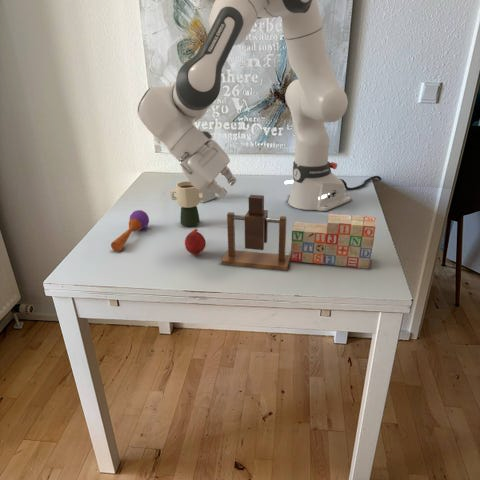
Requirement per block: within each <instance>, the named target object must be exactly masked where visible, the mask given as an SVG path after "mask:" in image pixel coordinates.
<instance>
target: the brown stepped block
mask: <svg viewBox="0 0 480 480" xmlns="http://www.w3.org/2000/svg"><path fill="white" fill-rule="evenodd" d="M268 213H269V210H268V209H265V195H261V194H259V195H258V194H250V195H249V196H248V210H247V212H246V213H245V215H244V216H245V220H244V249H247V250H258V251H264V249H265V244H267V243H268V231H269V230H268V226H269V224H268V223H269V222H264V220H265V218H269V214H268Z"/></svg>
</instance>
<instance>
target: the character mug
mask: <svg viewBox="0 0 480 480" xmlns="http://www.w3.org/2000/svg"><path fill="white" fill-rule="evenodd" d="M199 193H202V198H199ZM175 194H176V196H175ZM170 198H171V200H172V201H176V204H177V205H178V206H179V207H181V208H180V224H181V225H182V226H184V227H192V226H196V225H199V223H200V222H201V220H200V215H199V209H198V207H197V206H199V204H200V203H201V202H200V201H204V200H205V191H200V190H198V189H197V188H196V187H195V186H194V185H193V184H192V183H191V182H190V180H183V181H180V182H177V183H176V184H175V189H171V190H170Z"/></svg>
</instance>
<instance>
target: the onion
mask: <svg viewBox="0 0 480 480" xmlns="http://www.w3.org/2000/svg"><path fill="white" fill-rule="evenodd" d="M206 246H207V243H206V238H205V237H204V235H203V234H202V233H200V232H199V231H198V229H197V228H193V229H192V231H191V232H189V233H188V234H187V236H186V237H185V239H184V247H185V249H186V251H187V253H190V254H191V255H194V256H199V254H201V253H202V252H203V251H205V248H206Z"/></svg>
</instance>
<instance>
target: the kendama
mask: <svg viewBox="0 0 480 480" xmlns="http://www.w3.org/2000/svg"><path fill="white" fill-rule="evenodd" d="M149 224H150V219H149V215H148V214H147V212H145V211H144V210H143V209H142V210H141V209H137V210H134V211H133V212H132V213H131V214H130V215H129V221H128V229H127V230H126V231H125V232H123V233H122V234H121V235H120V236H118V237H117V238H116V239H114V240H113V241H112V242H111V243H110V247H111V249H112V251H114V252H117V253H119V252H121V251H122V250H123V248H124V246H125V245H126V242H127V241H128V239H129V237H130V236H131V234H132V232H138V231H141V230H145V229H146V228H147V227H148V225H149Z"/></svg>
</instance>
